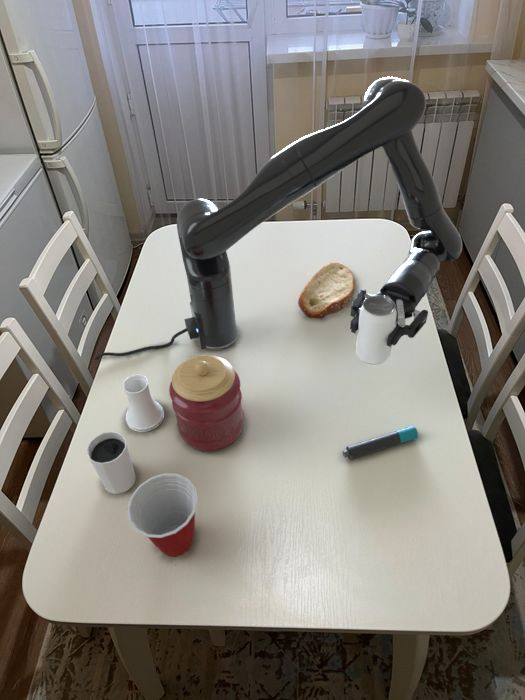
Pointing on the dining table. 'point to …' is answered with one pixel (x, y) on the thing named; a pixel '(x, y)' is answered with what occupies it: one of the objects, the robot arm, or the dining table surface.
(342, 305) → the bread slice
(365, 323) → the can
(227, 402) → the kitchen canister
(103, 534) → the dining table surface
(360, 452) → the marker
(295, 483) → the dining table surface
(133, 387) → the vase
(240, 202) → the robot arm
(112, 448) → the white coffee cup
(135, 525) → the plastic cup
